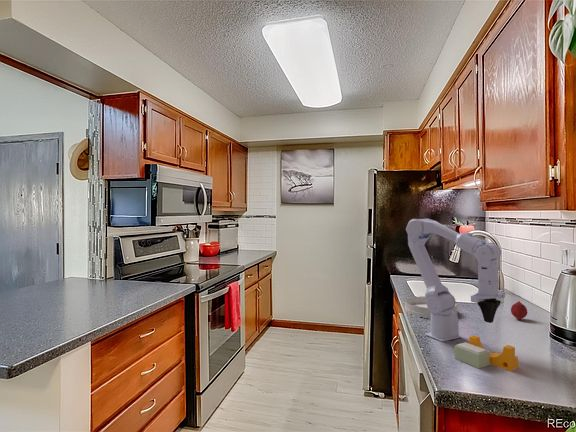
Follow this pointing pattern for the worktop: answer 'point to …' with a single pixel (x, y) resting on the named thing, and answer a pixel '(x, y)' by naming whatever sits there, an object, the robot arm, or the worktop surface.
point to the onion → (518, 310)
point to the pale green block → (472, 355)
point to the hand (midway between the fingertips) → (488, 321)
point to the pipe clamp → (499, 355)
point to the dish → (420, 307)
